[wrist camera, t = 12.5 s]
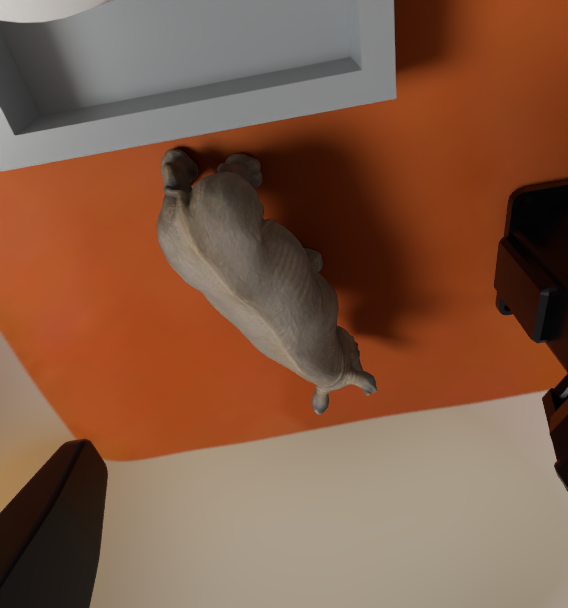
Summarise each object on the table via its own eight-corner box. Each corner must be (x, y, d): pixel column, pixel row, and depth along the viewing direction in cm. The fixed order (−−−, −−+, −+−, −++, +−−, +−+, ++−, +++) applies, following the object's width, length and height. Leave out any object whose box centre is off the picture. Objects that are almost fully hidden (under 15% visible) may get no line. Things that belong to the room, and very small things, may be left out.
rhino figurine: (320, 370, 26) (335, 466, 21) (142, 168, 19) (103, 242, 14) (388, 336, 25) (420, 429, 20) (224, 106, 18) (213, 165, 13)
